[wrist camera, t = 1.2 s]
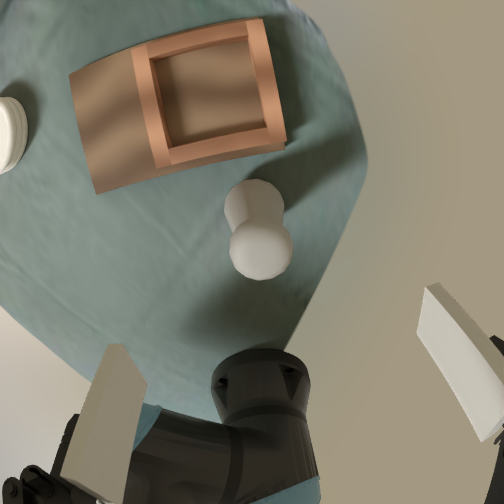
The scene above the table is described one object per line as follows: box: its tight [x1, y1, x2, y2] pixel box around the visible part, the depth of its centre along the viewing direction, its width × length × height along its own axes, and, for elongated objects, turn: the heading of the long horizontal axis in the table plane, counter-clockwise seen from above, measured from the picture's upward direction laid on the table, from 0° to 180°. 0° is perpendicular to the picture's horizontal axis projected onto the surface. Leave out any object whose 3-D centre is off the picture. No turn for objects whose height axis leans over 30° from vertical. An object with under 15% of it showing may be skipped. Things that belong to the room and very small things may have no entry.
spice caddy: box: [69, 17, 287, 195], centre depth 24 cm, size 14×20×4 cm
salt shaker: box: [224, 179, 293, 280], centre depth 25 cm, size 6×6×13 cm
